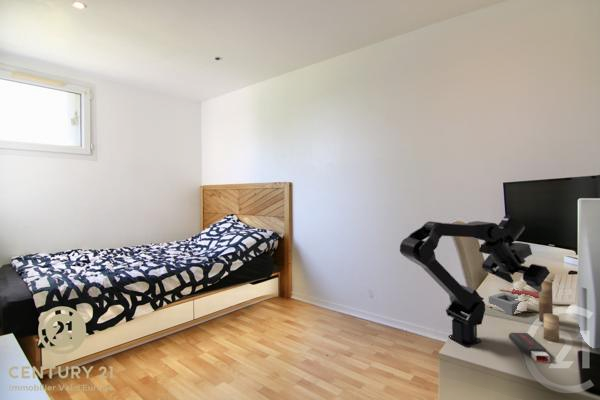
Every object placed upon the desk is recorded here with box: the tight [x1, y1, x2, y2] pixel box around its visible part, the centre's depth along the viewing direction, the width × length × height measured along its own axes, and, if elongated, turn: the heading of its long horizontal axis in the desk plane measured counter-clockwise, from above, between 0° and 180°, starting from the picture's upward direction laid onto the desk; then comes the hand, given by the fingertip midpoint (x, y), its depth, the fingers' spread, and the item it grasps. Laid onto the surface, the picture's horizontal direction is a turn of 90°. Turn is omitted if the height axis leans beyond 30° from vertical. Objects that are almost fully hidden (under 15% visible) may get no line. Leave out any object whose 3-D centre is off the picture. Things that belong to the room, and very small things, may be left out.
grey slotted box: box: [488, 292, 528, 316], centre depth 112 cm, size 8×8×4 cm
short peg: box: [543, 313, 560, 343], centre depth 90 cm, size 4×4×7 cm
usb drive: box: [508, 332, 551, 363], centre depth 86 cm, size 5×12×3 cm, turn 170°
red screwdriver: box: [498, 287, 539, 299], centre depth 126 cm, size 4×2×15 cm
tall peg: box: [538, 280, 554, 324], centre depth 101 cm, size 4×4×13 cm
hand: (525, 286), depth 99 cm, fingers open, 9 cm apart
